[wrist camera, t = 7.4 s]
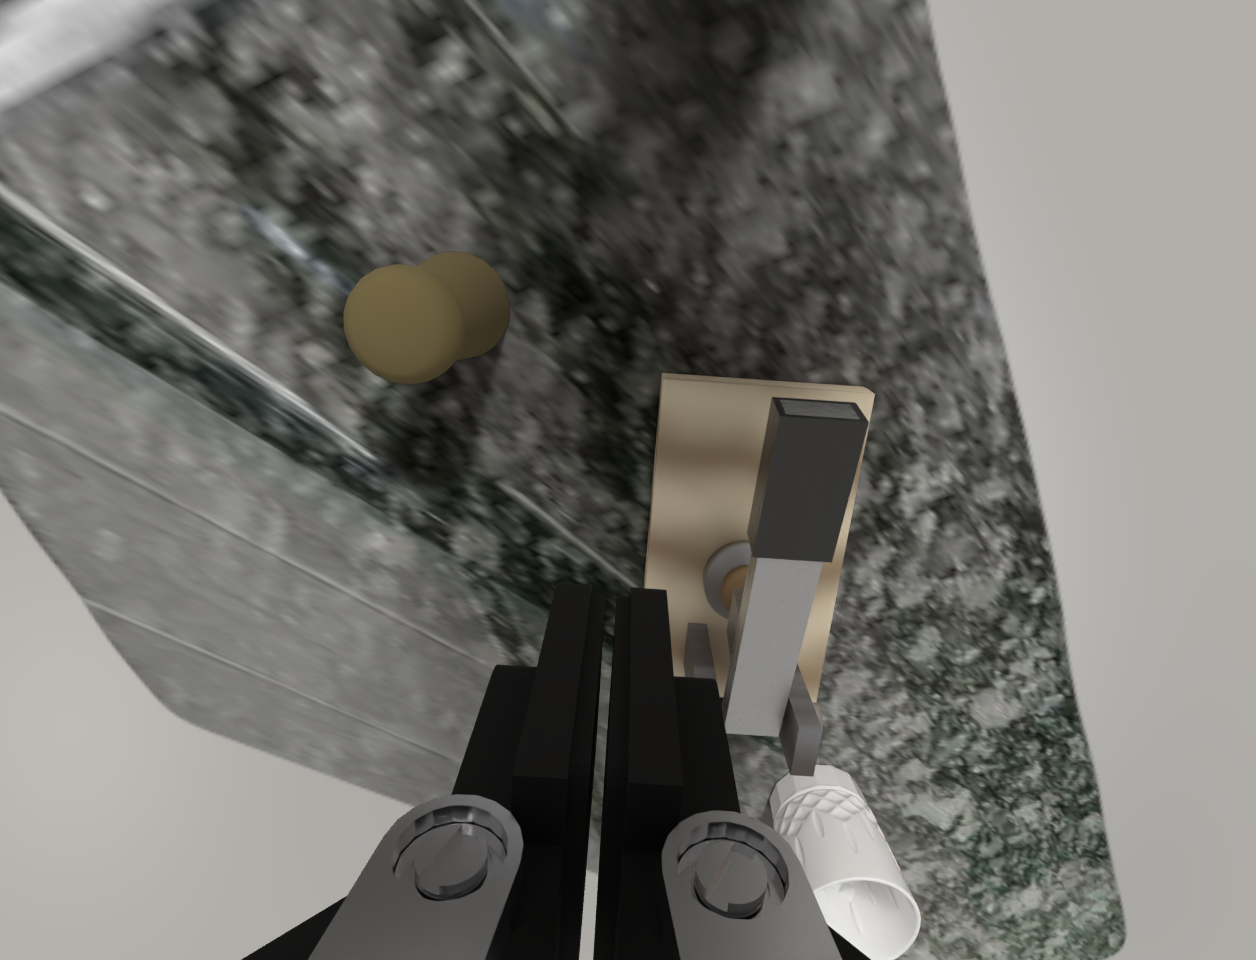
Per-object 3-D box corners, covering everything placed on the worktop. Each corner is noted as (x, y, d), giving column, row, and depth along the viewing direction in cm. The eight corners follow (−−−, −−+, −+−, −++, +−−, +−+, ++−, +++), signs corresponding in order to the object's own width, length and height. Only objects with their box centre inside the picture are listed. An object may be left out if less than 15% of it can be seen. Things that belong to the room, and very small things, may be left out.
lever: (764, 379, 31) (779, 416, 27) (844, 384, 31) (868, 422, 27) (712, 680, 40) (718, 736, 37) (772, 684, 40) (784, 740, 37)
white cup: (741, 814, 51) (764, 944, 42) (799, 740, 49) (837, 859, 39) (828, 853, 52) (870, 988, 43) (889, 782, 50) (947, 908, 41)
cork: (515, 357, 40) (472, 397, 30) (413, 361, 40) (335, 403, 30) (504, 248, 38) (454, 251, 28) (397, 253, 38) (307, 258, 28)
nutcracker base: (661, 372, 40) (670, 421, 29) (863, 386, 40) (947, 440, 29) (636, 673, 47) (636, 803, 36) (808, 684, 47) (859, 817, 36)
